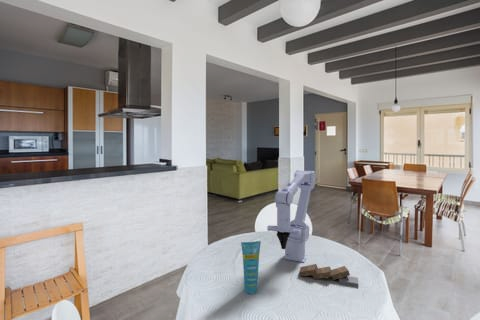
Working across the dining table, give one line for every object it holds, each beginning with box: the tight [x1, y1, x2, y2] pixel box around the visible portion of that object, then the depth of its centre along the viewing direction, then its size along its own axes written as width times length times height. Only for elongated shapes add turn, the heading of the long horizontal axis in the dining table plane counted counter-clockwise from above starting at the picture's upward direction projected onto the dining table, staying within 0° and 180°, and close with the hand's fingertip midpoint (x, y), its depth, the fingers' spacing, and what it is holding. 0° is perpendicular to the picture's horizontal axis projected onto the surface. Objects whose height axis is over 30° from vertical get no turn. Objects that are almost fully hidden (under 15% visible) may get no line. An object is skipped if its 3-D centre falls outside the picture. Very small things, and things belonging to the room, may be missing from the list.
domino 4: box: [338, 275, 359, 288], centre depth 103 cm, size 2×5×7 cm
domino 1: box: [298, 263, 319, 277], centre depth 108 cm, size 2×5×7 cm
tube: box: [240, 240, 262, 295], centre depth 96 cm, size 7×5×19 cm, turn 103°
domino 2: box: [312, 266, 332, 280], centre depth 106 cm, size 2×5×7 cm
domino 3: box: [331, 265, 351, 281], centre depth 106 cm, size 2×5×7 cm
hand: (283, 248), depth 112 cm, fingers closed
